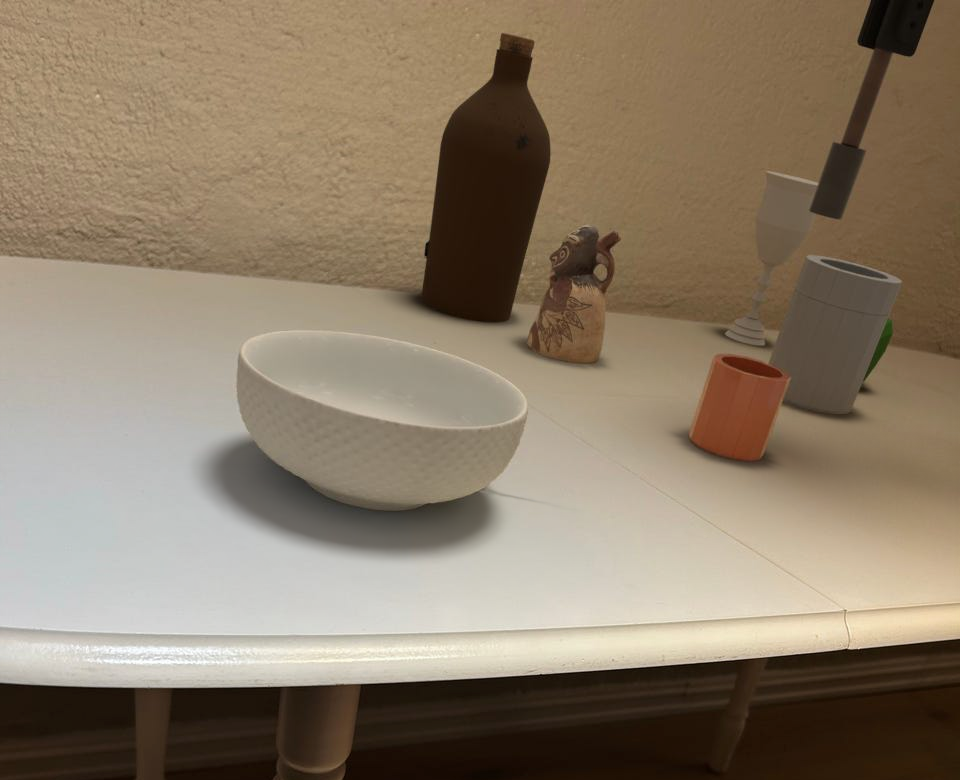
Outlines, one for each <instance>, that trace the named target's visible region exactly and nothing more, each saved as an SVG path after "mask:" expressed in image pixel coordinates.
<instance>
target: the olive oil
mask: <svg viewBox="0 0 960 780" xmlns="http://www.w3.org/2000/svg"><path fill="white" fill-rule="evenodd" d="M499 42H500V43H499V49H496V53H495V59H494V65H493V72H492V76H491V77H490V78H489V80H488V81H487V82H486V83H485V84H484V85H482V86H481V87H480V88H479V89H478V90H476V91H475V92H474V93H472V94H471V95H470V96H469V97H468V98H467V99H465V101H463V102H462V103H461V104H460V105H459V106H457V107H456V109H454V111H453V112H452V113H451V115H450V117H449V119H448V120H447V123H446V125H445V127H444V131H443V133H442V136H441V141H440V146H439V155H438V164H437V173H436V181H435V187H434V188H435V189H434V198H433V204H432V205H433V206H432V211H431V212H432V213H431V219H430V220H431V222H430V227H429V228H430V229H429V238H428V239H429V240H428V241H426V242H425V246H424V257H423V258H424V259H426V260H425V267H424V273H423V274H424V275H423V281H422V288H421V296H420V300H421V302H422V303H423V305H425V306H426V307H428V308H430V309H432V310H434V311H437V312H439V313H443V314H444V315H449V316H452V317H454V318H455V317H456V318H460V319H463V320H468V321H475V322H482V323H483V322H484V323H504V322H508V321H509V320H510V318H511V314H512V312H513V308H514V303H515V299H516V294H517V291H518V286H519V284H520V283H519V282H520V278H521V274H522V271H523V267H524V262H525V259H526V255H527V251H528V247H529V244H530V239H531V235H532V232H533V228H534V224H535V220H536V217H537V213H538V209H539V205H540V202H541V199H542V194H543V190H544V187H545V183H546V181H547V177H548V174H549V173H548V172H549V169H550V164H551V154H552V153H551V150H552V149H551V138H550V133H549V130H548V128H547V125H546V122H545V121H544V119H543V116H542V115H541V113H540V110H539V109H538V106H537V105H536V103H535V101H534V99H533V96H532V94H531V92H530V90H529V86H528V80H529V77H530V72H531V68H532V63H533V60H534V58H533V57H532V52H533V49H534V48H535V43H536V42H535V40H534V39H532V38H527V37H523V36H518V35H515V34H511V33H506V32H502V33H500V37H499Z"/></svg>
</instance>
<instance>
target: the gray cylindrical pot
mask: <svg viewBox="0 0 960 780" xmlns="http://www.w3.org/2000/svg"><path fill="white" fill-rule="evenodd" d="M902 283H903V280H902V279H900V278H898V277H897V276H894V275H892V274H890V273H888V272H886V271H881V270H879V269H876V268H872V267H869V266H866V265H862V264H859V263H855V262H852V261H848V260H843V259H839V258H834V257H830V256H824V255H823V256H822V255H816V254H808V255H806V256H805V257H804V260H803V263H802V266H801V269H800V272H799V275H798V277H797V281H796V282H795V286H794V289H793V291H792V294H791V297H790V300H789V303H788V306H787V309H786V312H785V314H784V316H783V320H782V323H781V326H780V328H779V332H778V335H777V338H776V340H775V343H774V347H773V350H772V352H771V355H770V358H769V361H768V362H767V363H768V364H771V365H774V366H776V367H778V368H780V369H782V370H784V371H786V372H787V373H788V374H789V375H790V377H791V379H790V382H789V385H788V388H787V391H786V393H785V396H784V399H783V401H784V402H786V403H789V404H790V405H794V406H797V407H800V408H803V409H807V410H811V411H815V412H820V413H824V414H832V415H846V414H849V413H851V411H852V409H853V407H854V405H855V402H856V400H857V398H858V394H859V392H860V389H861V388H862V385H863V383H864V382H863V380H864V377H865V374H866V372H867V369H868V367H869V364H870V362H871V359H872V357H873V354H874V352H875V349H876V347H877V344H878V342H879V339H880V337H881V334H882V332H883V329H884V327H885V324H886V321H887V319H889V317H890V313H891V312H892V309H893V306H894V304H895V302H896V299H897V296H898V294H899V292H900V288H901V286H902V285H903V284H902ZM862 382H863V383H862Z"/></svg>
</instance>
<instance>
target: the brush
mask: <svg viewBox="0 0 960 780" xmlns="http://www.w3.org/2000/svg"><path fill="white" fill-rule="evenodd" d="M893 55H894V53H892V52H889V51H885V50H882V49H878V48H877V47H876V45H875V47H874V50H873V49H872V54H871V56H870V58H869V62H868V64H867V68H866V70H865V73H864V76H863V79H862V81H861V84H860V87H859V90H858V93H857V96H856V99H855V102H854V104H853V107H852V110H851V113H850V116H849V118H848V121H847V124H846V127H845V130H844V133H843V136H842V139H841V141H840V142H838V141H837V142H836V141H833V142H831V146H830V148H829V151H828V154H827V157H826V160H825V163H824V165H823V168H822V172H821V175H820V177H819V180H818V182H817V183H818V186H817V189H816V191H815V194H814V197H813V200H812V203H811V206H810V209H809V211H810V212H812V213H815V214H816V215H817V216H818V215H819V216H822V217H826V218H829V219H834V220H842V219H843V217H844V214H845V212H846V208H847V207H848V203H849V201H850V198H851V195H852V192H853V190H854V187H855V184H856V181H857V180H858V179H857V178H858V176H859V173H860V172H861V171H860V170H861V167H862V165H863V162H864V159H865V157H866V154H867V149H864V148H860V147H861V144H862V141H863V138H864V135H865V133H866V130H867V128H868V124H869V122H870V120H871V117H872V114H873V110H874V108H875V105H876V102H877V99H878V97H879V94H880V92H881V89H882V85H883V83H884V80H885V77H886V75H887V73H888V72H887V71H888V69H889V66H890V64H891V61H892V58H893Z"/></svg>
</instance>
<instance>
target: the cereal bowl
mask: <svg viewBox="0 0 960 780" xmlns="http://www.w3.org/2000/svg"><path fill="white" fill-rule="evenodd" d="M236 398H237V404H238V410H239V414H240V415H241V420H242V422H243V424H244V426H245V429H246V430H247V432H248V433H249V435H250V437H251V439H252V440H253V441H254V442H255V443H256V445H257V447H258V448H259V449H260V450H262V452H263V453H264V454H265V455H266V456H268V458H270V459H271V460H272V461H274V462H275V463H276V464H277V465H278V466H280V467H282V468H283V469H284V470H285V471H288V472H290V473H292V475H294V476H297V477H299V478H301V480H304V481H305V482H306V484H307V485H308V486H309V487H310V488H312V489H313V490H315V491H316V492H317V493H319V494H321V495H323V496H325V497H327V498H329V499H331V500H334V501H336V502H340V503H343V504H346V505H349V506H352V507H357V508H362V509H369V510H375V511H392V512H394V511H407V510H414V509H418V508H421V507H423V506H425V505H427V504H436V503H444V502H451V501H454V500H457V499H461V498H465V497H467V496H470V495H473V494H474V493H476V492H479V491H481V490H482V489H484V488H486V487H488V486H489V485H490V484H491V483H492V482H494V481H496V480H497V479H498V477H499V476H501V474H503V473H504V471H505V470H506V468H507V467H508V466H509V464H510V463H511V461H512V459H513V458H514V455H515V454H516V451H517V449H518V447H519V446H520V444H521V438H522V437H523V433H524V431H525V429H524V428H525V427H526V424H527V419H528V415H529V404H528V403H529V402H528V400H527V398H526V396H525V395H524V393H522V391H521V390H520V389H519V388H518V387H517V386H515V385H514V384H513V383H512V382H510V381H509V380H507V379H506V378H504V377H503V376H501V375H499V374H497V373H496V372H494V371H493V370H491V369H488V368H486V367H484V366H482V365H480V364H478V363H475V362H472V361H469V360H467V359H465V358H462V357H460V356H456V355H453V354H452V353H451V354H450V353H447V352H444V351H441V350H438V349H435V348H432V347H427V346H424V345H420V344H415V343H412V342H408V341H403V340H398V339H392V338H389V337H382V336H377V335H370V334H362V333H355V332H345V331H334V330H332V331H331V330H315V329H314V330H313V329H311V330H307V329H305V330H303V329H302V330H299V329H298V330H297V329H296V330H294V329H293V330H279V331H272V332H265V333H261V334H258V335H255V336H253V337H250V338H248V339H247V340H245V341H244V343H242V345H241V346H240V349H239V351H238V356H237V368H236Z"/></svg>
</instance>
